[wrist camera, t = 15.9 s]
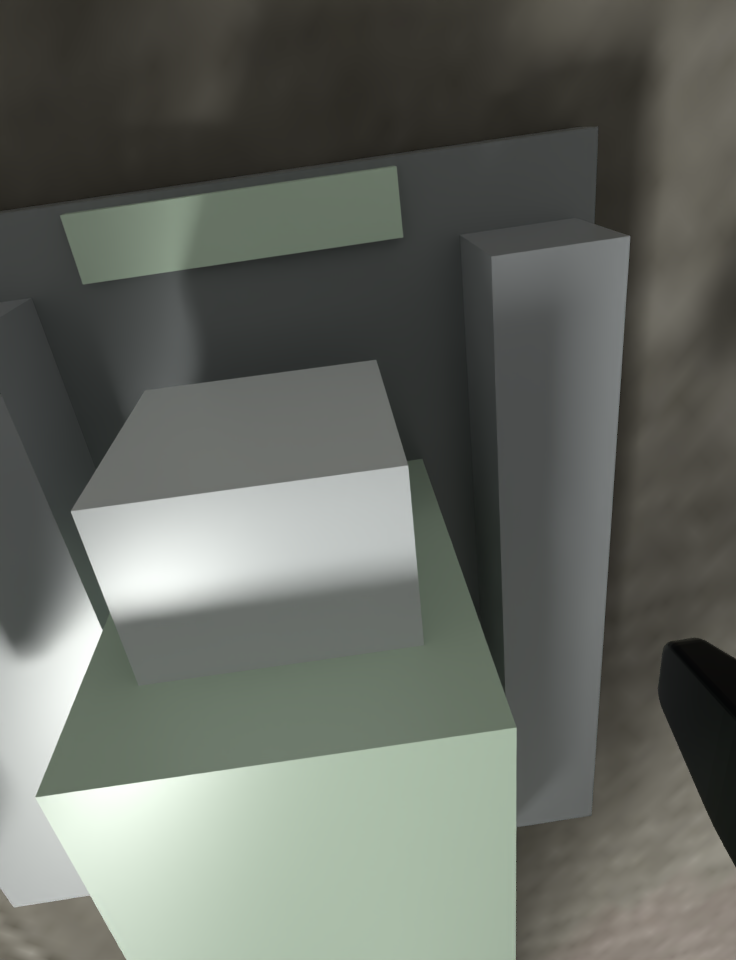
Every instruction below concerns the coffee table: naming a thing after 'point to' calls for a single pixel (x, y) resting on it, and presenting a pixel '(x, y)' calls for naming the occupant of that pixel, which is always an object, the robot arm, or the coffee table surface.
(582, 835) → the coffee table surface
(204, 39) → the coffee table surface
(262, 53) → the coffee table surface
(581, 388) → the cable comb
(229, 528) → the sage plug
